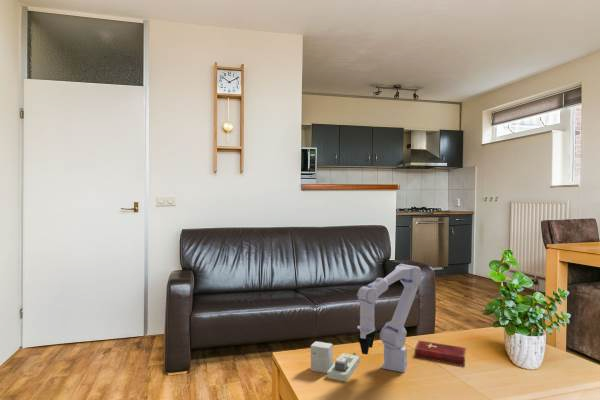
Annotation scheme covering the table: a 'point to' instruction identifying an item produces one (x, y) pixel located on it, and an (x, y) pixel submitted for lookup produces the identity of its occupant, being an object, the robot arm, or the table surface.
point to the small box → (321, 356)
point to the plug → (341, 364)
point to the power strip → (351, 365)
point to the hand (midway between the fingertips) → (367, 350)
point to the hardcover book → (440, 352)
